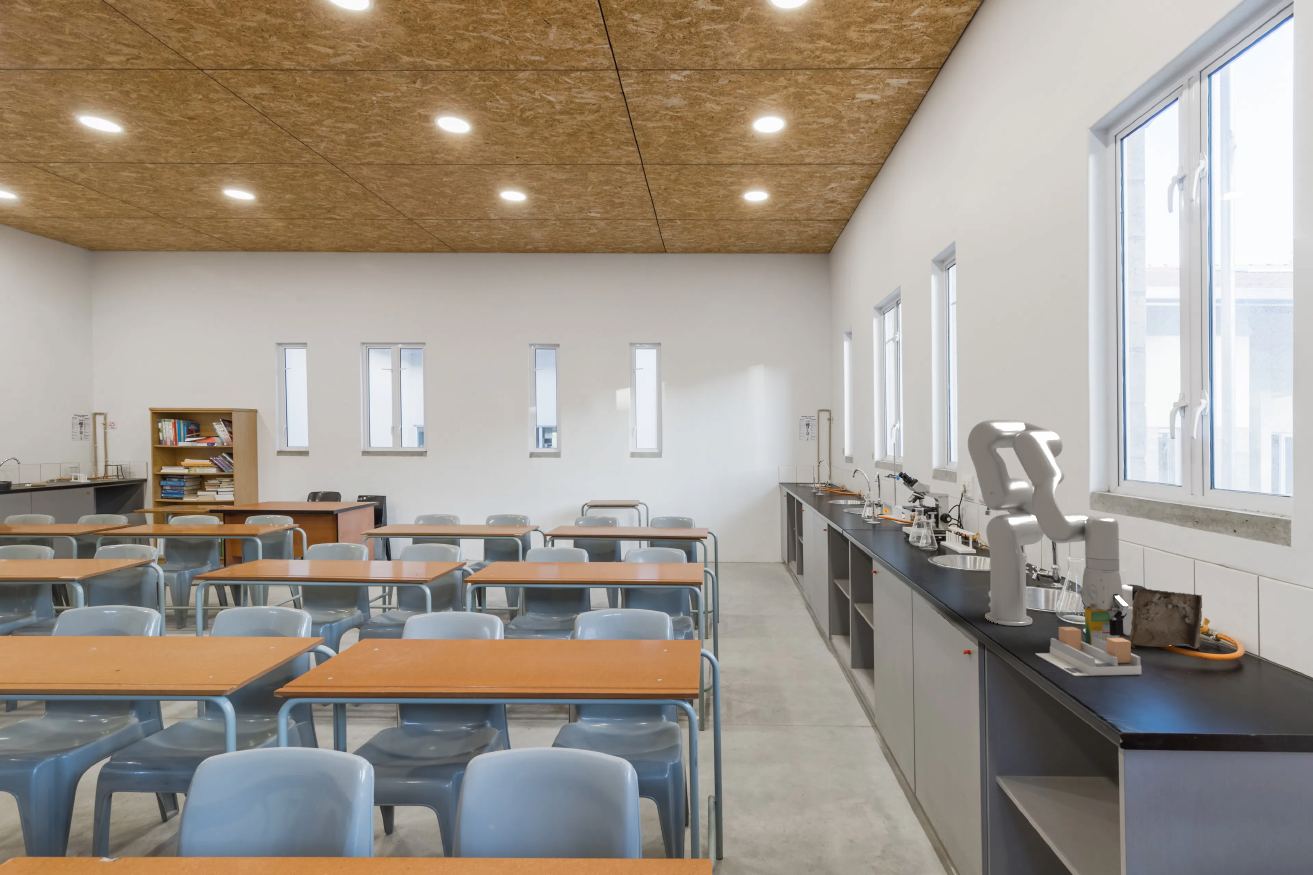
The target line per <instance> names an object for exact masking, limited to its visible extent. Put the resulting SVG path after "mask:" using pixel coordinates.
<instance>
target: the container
mask: <svg viewBox="0 0 1313 875" xmlns="http://www.w3.org/2000/svg"><path fill="white" fill-rule="evenodd" d="M1140 589H1147V588H1146V587H1145V586H1142V585H1139V584H1129V583H1128V584H1122V594H1123V601H1124V602H1125V603H1126V604H1127V605H1128V610H1127V615H1126V616H1125V620H1123V635H1125V636H1127V637H1130V634H1131V628H1132V625H1131V622H1132V618H1133V614H1132V612H1133V607H1132V605H1133V601H1134V598H1135V594H1136V593H1137V591H1138V590H1140Z"/></svg>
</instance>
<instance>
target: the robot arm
mask: <svg viewBox="0 0 1313 875" xmlns="http://www.w3.org/2000/svg"><path fill="white" fill-rule="evenodd" d="M1009 448H1010V449H1011V448H1013V450H1014V451H1013V452H1014V453H1015V456H1016V457H1017V459H1018V461H1019V463H1020V465H1021V466H1022V468H1023V470H1024V473H1025V474H1026V477H1028V480H1029V482H1030V483H1029V482H1028V481H1027V480H1024V479H1023V478H1018V477H1015V478H1013V477H1012V478H1011V477H1010V475H1009V472H1008V469H1007V465H1006V463H1005V461H1004V459H1003V457H1002V456H1001V455H1000V454H999V453H998V452H997V449H1009ZM967 449H968V453H969V456H970V459H971V460H972V463H973V466H974V469H975V474H976V478H977V482H978V485H979V489H980V493H981V496H982V500H983V502H984V504H985V506H986V507H987V508H988V509H989V510H992V511H996V512H997V511H1010V513H1008V514H1007V513H1006V514H1005V513H1004V514H999V515H996V516H994V517H993V518H991V519H990V520H988V522H987V525H986V530H985V532H986V533H985V534H986V538H987V543H988V548H989V567H990V571H989V573H990V574H989V575H990V579H989V581H990V602H989V603H988V606H989V608H990V612H986V613H985V615H984V619H985V618H986V619H987V620H986V619H985V620H986V621H988V620H989V621H988V622H990V621H991V622H990V623H993V622H994V624H997V623H998V625H1003V626H1012V627H1022V626H1023V627H1024V626H1029V625H1032V623H1033V618H1032V617H1031V616H1029V615H1027V563H1026V557H1025V555H1024V552H1023V550H1022V547H1021V546H1028V545H1035V544H1037V543H1039V542H1041V540H1042V539H1043V537H1044V536H1045V537H1046V538H1048V539H1049V540H1050V541H1051V542H1053V543H1056V544H1067V543H1076V542H1079V543H1080V542H1084V551H1085V552H1084V553H1085V555H1084V556H1085V562H1084V563H1085V564H1084V565H1085V567H1084V569H1083V575H1082V586H1081V590H1080V591H1079V594H1080V598H1081V603H1082V605H1083V610H1084V611H1085V608H1090V604H1095V608H1096V609H1099V610H1102V611H1108V613H1109V615H1110V617H1111V619H1109V624H1110V635H1112V636H1123V635H1124V634H1123V620H1125V616H1126V615H1127V610H1128V605H1127V604H1126V603H1125V602H1124V601H1123V594H1122V585H1123V584H1122V579H1121V574H1120V538H1119V537H1120V536H1119V534H1120V533H1119V530H1120V529H1119V522H1118V520H1117V519H1115V518H1113V517H1110V516H1108V517H1107V516H1095V515H1091V514H1090V515H1089V514H1085V513H1068V514H1063V513H1062V511H1061V509H1060V507H1059V506H1058V503H1057V500H1056V494H1055V493H1056V489H1057V487H1058V485H1060V484H1061V483H1062V482H1063V480H1064V479H1065V474H1064V472H1063V470H1062V467H1061V465H1060V464H1059V463H1058V461H1057V459H1056V458H1057V457H1059V456H1060V455H1061V453H1062V451H1063V441H1062V439H1061V437H1060V436H1059V435H1058V434H1057V433H1056V432H1055V431H1053V430H1051V429H1048V428H1046V427H1045V428H1044V427H1041V426H1038V425H1034V424H1033V423H1030V422H1029V423H1028V422H1026V421H1022V420H1018V419H992V420H988V419H987V420H985V421H981V422H979V423H977V424H976V425H975V426H974V427H972V429H971V430H970V432H969V434H968V438H967ZM1111 607H1114V608H1111ZM1115 611H1117V613H1116V614H1114V612H1115Z"/></svg>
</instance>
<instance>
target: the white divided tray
mask: <svg viewBox="0 0 1313 875" xmlns="http://www.w3.org/2000/svg"><path fill="white" fill-rule="evenodd" d="M1035 655H1036V656H1038V657H1039V658H1042V659H1043V660H1045V661H1047V662H1048V663H1050V664H1053V665H1054V666H1056V667H1057V668H1059V669H1061V670H1062V671H1065V672H1067V673H1068V674H1070V675H1072V676H1074V677H1084V676H1085V677H1087V676H1092V677H1093V676H1123V675H1124V676H1125V675H1126V676H1127V675H1128V676H1130V675H1133V676H1134V675H1142V665H1141V656H1139V655H1137V654H1134V653H1132V652H1131V662H1130V663H1118V658H1117V657H1115V656H1113V655H1111V654H1109V653H1107V652H1106V642H1105V641H1103V640H1101V639H1098V638H1096V637H1092V645H1089V644H1087V643H1086V641H1083V640H1081V650H1077V649H1075V648H1073V647H1071V646H1069V645H1067V644H1065V643H1063V642H1061V641H1059V639H1057V638H1055V637H1050V646H1049V652H1047V653H1046V652H1042V653H1041V652H1039V653H1037V652H1036V653H1035Z"/></svg>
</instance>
